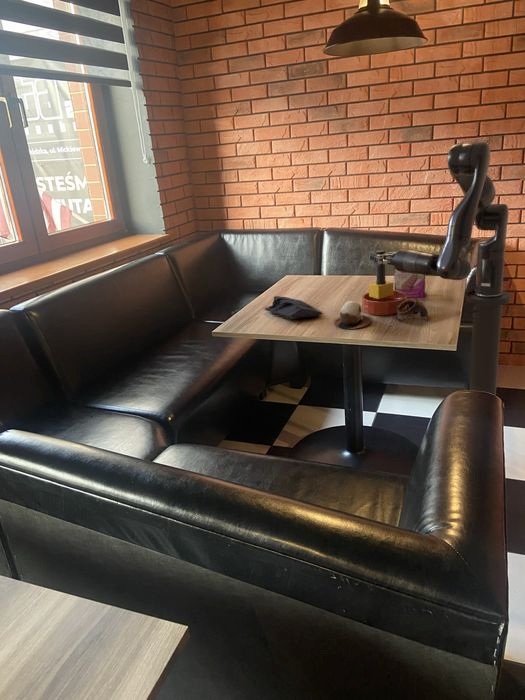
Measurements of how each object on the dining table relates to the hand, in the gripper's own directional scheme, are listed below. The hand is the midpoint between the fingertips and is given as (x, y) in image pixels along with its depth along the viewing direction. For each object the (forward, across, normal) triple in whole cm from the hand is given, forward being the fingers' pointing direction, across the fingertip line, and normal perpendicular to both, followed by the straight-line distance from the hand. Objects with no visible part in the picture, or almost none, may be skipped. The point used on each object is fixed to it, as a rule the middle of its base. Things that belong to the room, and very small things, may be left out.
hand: (374, 255), depth 188 cm
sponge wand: (-3, 0, +14) cm, 14 cm away
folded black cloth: (+18, +24, +19) cm, 35 cm away
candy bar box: (0, -18, +19) cm, 26 cm away
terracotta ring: (-4, 0, +19) cm, 19 cm away
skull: (-8, +18, +19) cm, 27 cm away
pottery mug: (-20, +2, +19) cm, 28 cm away
